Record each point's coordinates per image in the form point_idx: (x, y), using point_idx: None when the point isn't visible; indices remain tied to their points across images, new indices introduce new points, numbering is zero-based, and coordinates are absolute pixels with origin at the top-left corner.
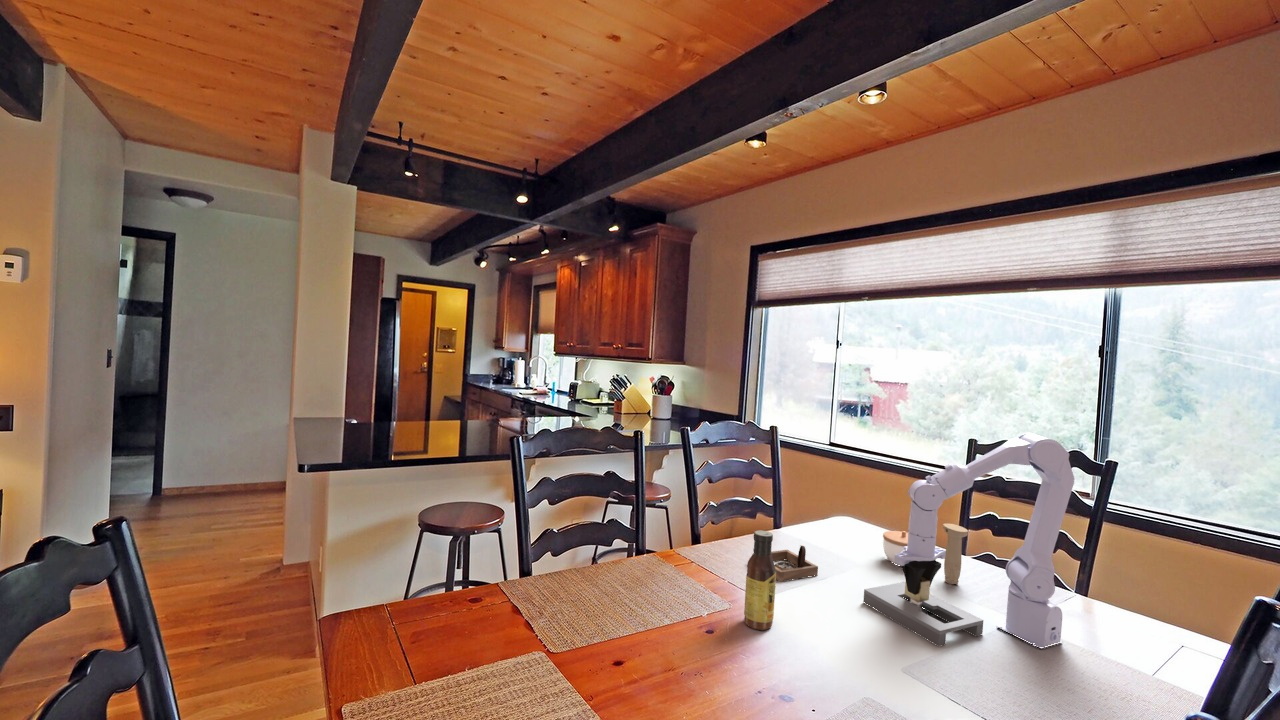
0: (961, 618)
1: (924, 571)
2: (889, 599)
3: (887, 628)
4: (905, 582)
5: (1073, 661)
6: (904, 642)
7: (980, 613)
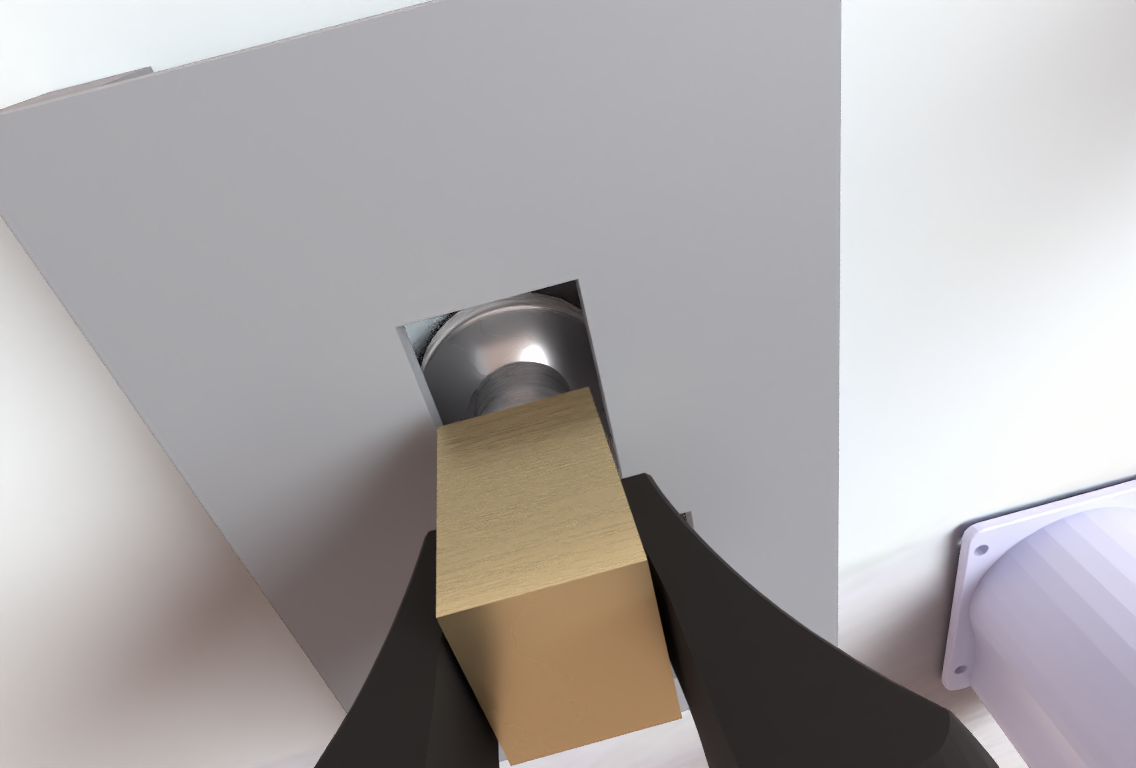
0: None
1: (708, 745)
2: (234, 416)
3: (138, 545)
4: (438, 528)
5: (976, 728)
6: (192, 674)
7: (1095, 351)
